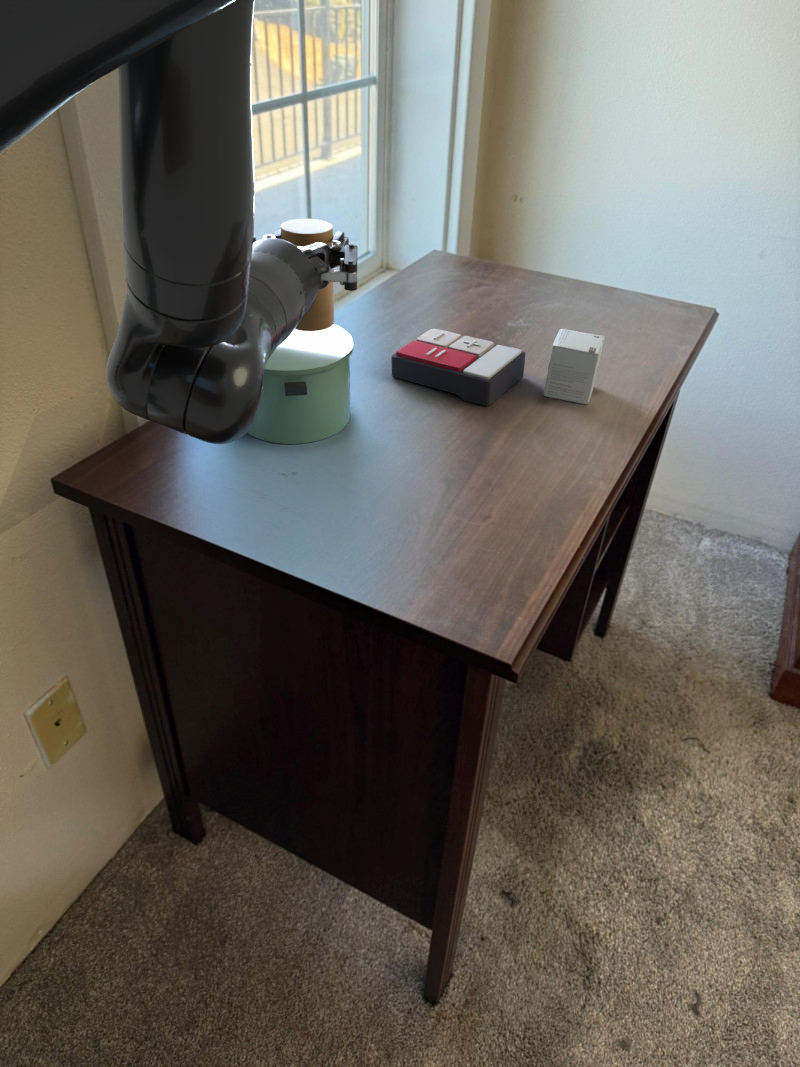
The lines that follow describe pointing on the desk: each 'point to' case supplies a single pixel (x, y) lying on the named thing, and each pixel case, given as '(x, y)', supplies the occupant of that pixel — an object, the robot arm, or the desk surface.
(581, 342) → the white cardboard box
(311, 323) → the tall wooden cylinder
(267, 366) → the pot
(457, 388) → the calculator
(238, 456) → the desk surface
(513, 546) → the desk surface
